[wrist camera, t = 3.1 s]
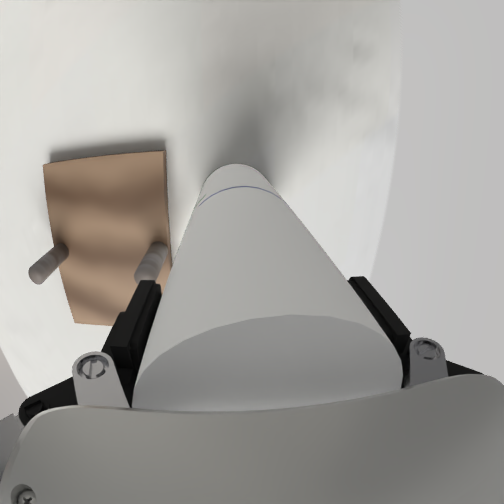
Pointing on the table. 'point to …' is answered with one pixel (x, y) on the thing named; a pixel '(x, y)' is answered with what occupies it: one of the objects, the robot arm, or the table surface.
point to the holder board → (106, 230)
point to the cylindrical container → (258, 313)
